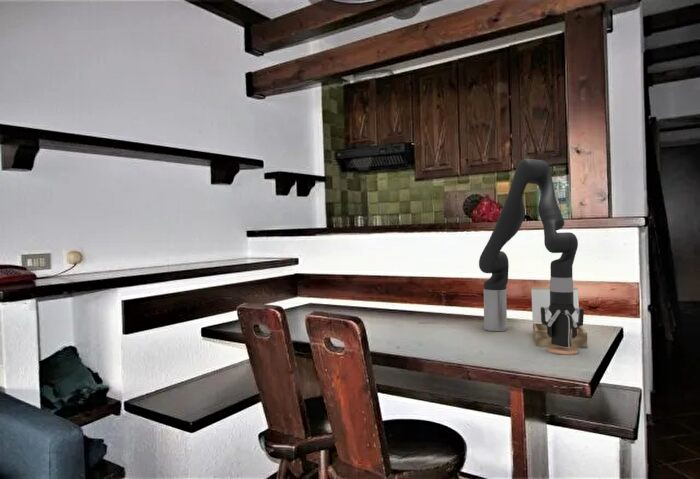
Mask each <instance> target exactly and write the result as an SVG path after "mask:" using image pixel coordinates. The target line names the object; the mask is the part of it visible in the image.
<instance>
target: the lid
mask: <svg viewBox="0 0 700 479" xmlns="http://www.w3.org/2000/svg"><path fill="white" fill-rule="evenodd" d="M530 289H531V311H532V312H531V313H532V315H531V316H532V323H540V324H542V322H541V310H540V308H541V307H549V306H550V286H548V287H547V286H540V287H539V286H531V287H530ZM578 289H579V288H578V287H573V297H574V307H575V308H580V305H579V303H580V302H579V290H578ZM551 315H552V313H551V312H550V311H549V310H548V311H547V313H546V314H545V320H546V321H547V322H548V320H549V319H550V317H551ZM571 316H572V317H573V319H574V321H575V323H576V322H578V314H577V312H576V311H575V312H574V313H573V314H572V315H571Z"/></svg>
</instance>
